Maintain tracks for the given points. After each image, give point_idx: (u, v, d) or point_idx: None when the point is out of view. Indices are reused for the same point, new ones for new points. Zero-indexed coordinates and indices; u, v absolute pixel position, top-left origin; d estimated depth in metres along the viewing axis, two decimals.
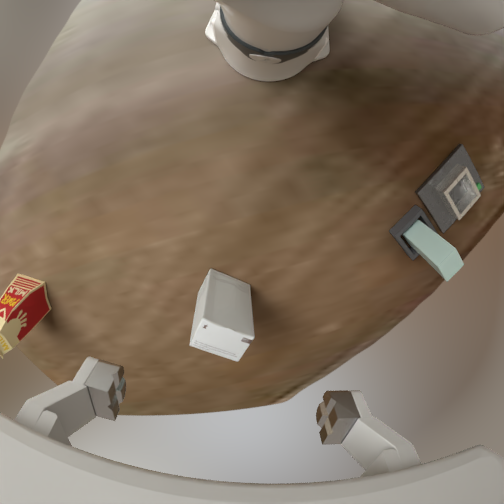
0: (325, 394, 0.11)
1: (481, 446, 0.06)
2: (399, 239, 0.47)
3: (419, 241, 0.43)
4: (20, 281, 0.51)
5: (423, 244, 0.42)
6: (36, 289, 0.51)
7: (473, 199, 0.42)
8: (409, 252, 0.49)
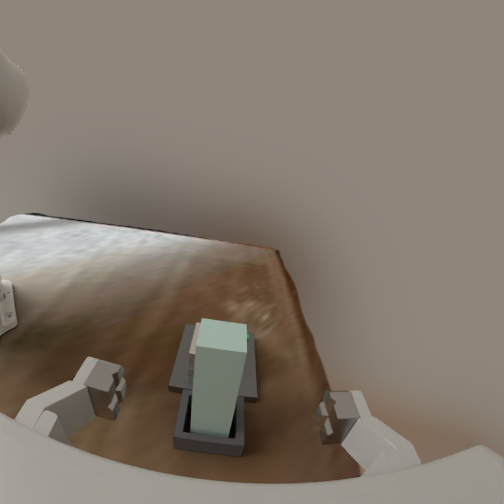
0: (325, 394, 0.11)
1: (481, 446, 0.06)
2: (186, 435, 0.25)
3: None
4: None
5: None
6: None
7: None
8: (225, 440, 0.25)
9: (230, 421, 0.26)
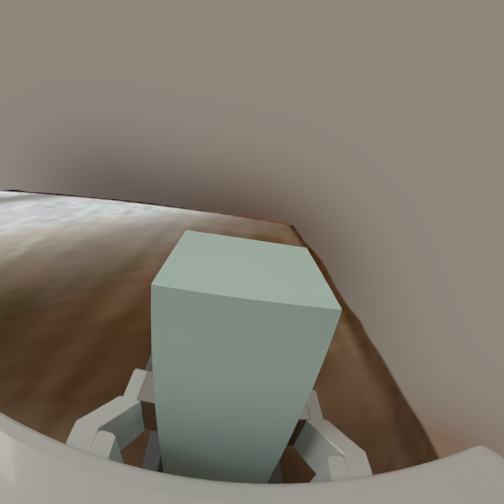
0: None
1: (481, 446, 0.06)
2: None
3: None
4: None
5: None
6: None
7: None
8: None
9: None
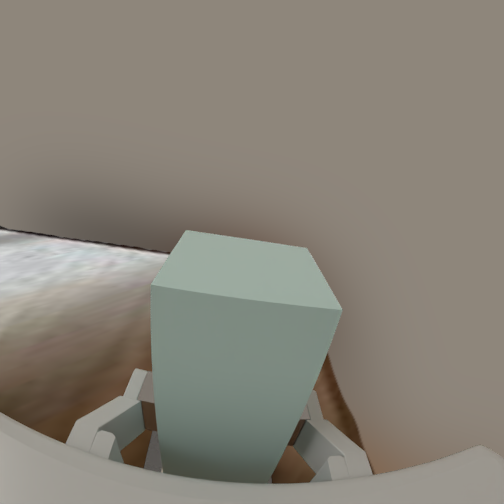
0: None
1: (481, 446, 0.06)
2: None
3: None
4: None
5: None
6: None
7: None
8: None
9: None
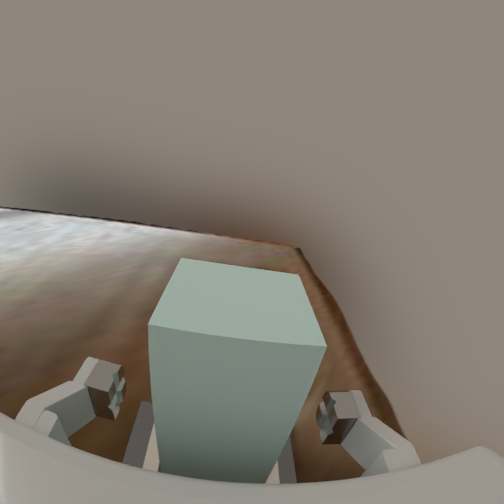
0: (325, 394, 0.11)
1: (481, 446, 0.06)
2: None
3: None
4: None
5: None
6: None
7: None
8: None
9: None
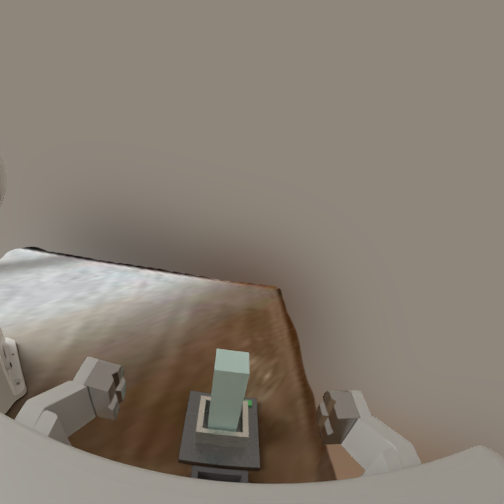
0: (325, 394, 0.11)
1: (481, 446, 0.06)
2: None
3: None
4: None
5: None
6: None
7: (243, 410, 0.39)
8: None
9: (237, 421, 0.35)
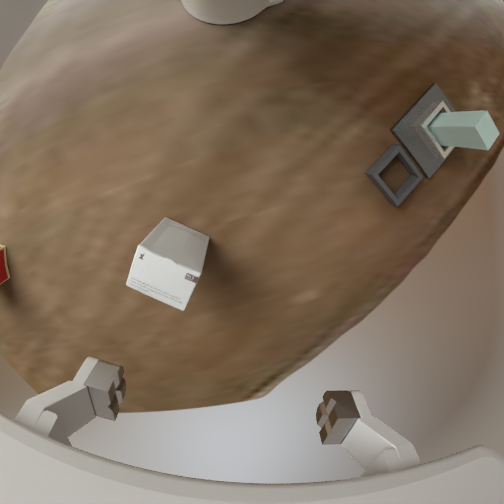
0: (325, 394, 0.11)
1: (481, 446, 0.06)
2: (378, 179, 0.42)
3: (447, 122, 0.34)
4: None
5: (452, 122, 0.33)
6: None
7: None
8: (392, 196, 0.43)
9: (449, 145, 0.37)
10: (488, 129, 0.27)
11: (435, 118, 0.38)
